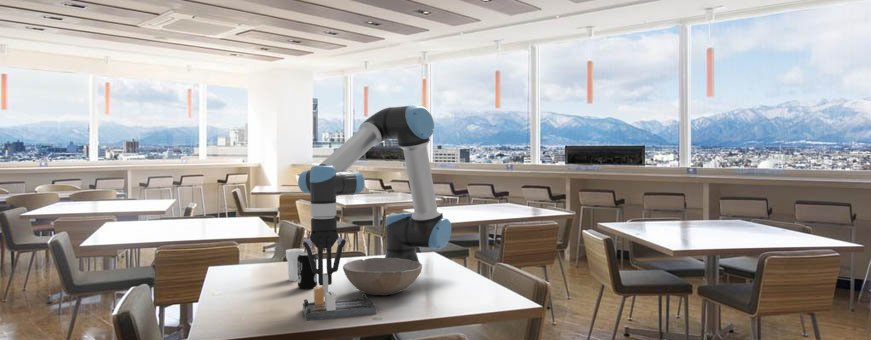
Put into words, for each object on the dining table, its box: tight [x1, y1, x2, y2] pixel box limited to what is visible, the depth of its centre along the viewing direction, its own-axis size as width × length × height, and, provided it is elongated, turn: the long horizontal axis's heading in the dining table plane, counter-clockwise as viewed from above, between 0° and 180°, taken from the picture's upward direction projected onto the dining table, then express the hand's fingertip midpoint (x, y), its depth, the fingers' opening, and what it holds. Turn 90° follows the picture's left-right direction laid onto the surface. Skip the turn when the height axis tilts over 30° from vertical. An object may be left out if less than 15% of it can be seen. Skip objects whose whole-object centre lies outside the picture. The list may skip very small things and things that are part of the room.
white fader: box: [324, 291, 336, 311], centre depth 171 cm, size 2×4×5 cm
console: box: [302, 294, 378, 321], centre depth 176 cm, size 20×12×3 cm, turn 107°
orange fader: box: [313, 286, 325, 305], centre depth 178 cm, size 2×4×5 cm
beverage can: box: [297, 251, 318, 290], centre depth 208 cm, size 7×7×12 cm
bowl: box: [342, 257, 423, 296], centre depth 198 cm, size 26×26×10 cm
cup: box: [285, 248, 305, 282], centre depth 222 cm, size 7×7×11 cm
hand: (325, 295), depth 179 cm, fingers closed
